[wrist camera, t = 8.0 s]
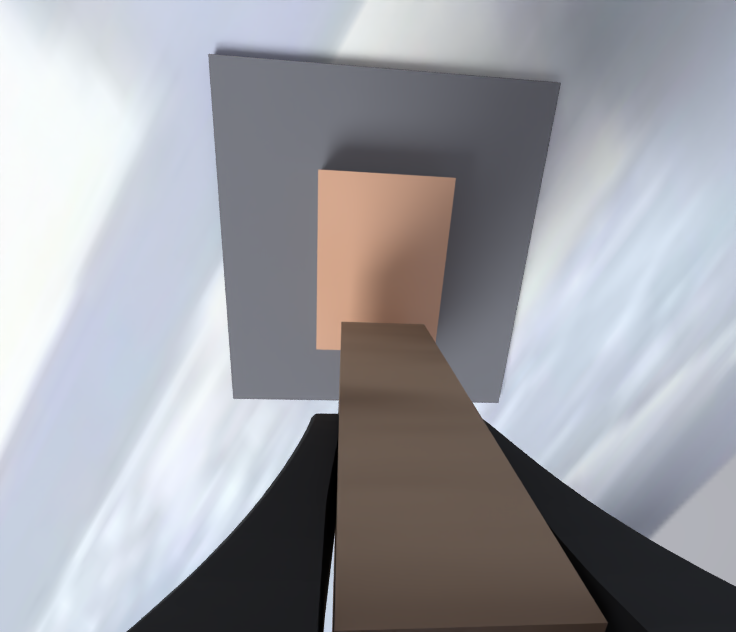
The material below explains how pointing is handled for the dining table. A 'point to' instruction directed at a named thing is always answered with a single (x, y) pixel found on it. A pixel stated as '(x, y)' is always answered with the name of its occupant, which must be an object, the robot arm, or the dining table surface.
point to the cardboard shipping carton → (435, 505)
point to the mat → (373, 155)
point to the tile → (380, 250)
